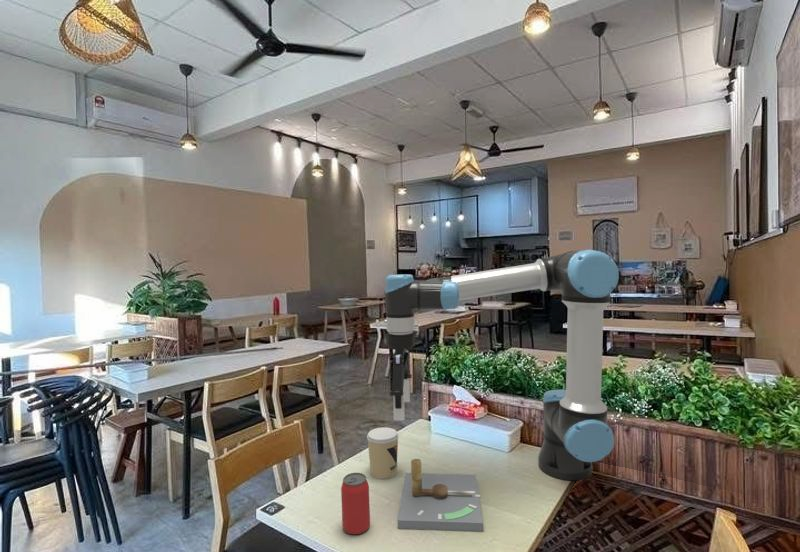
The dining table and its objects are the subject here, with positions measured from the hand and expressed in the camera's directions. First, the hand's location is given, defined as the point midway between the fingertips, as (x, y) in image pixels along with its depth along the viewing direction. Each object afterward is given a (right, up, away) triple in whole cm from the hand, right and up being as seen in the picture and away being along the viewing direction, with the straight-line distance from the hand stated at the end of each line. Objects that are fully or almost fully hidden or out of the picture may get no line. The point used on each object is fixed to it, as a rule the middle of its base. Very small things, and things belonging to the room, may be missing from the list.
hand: (402, 410), depth 114 cm
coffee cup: (-5, -23, +13) cm, 27 cm away
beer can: (-11, -24, -13) cm, 29 cm away
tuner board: (+10, -23, -4) cm, 25 cm away
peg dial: (+10, -21, -4) cm, 23 cm away
